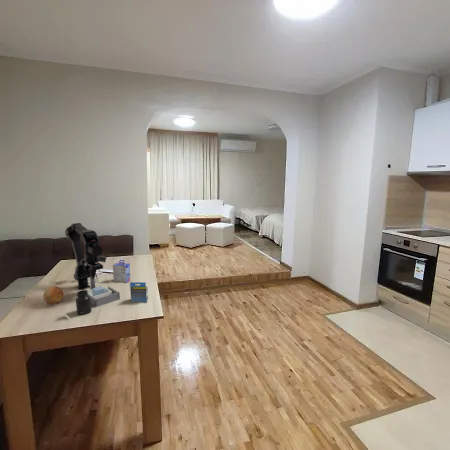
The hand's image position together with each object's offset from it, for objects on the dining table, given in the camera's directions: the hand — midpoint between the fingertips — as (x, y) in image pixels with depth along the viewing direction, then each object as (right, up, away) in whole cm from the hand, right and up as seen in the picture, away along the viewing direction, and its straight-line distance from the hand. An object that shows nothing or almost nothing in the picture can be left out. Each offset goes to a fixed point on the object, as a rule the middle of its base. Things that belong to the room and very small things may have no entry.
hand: (92, 277), depth 166 cm
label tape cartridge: (+30, -12, -7) cm, 33 cm away
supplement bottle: (+6, -15, -21) cm, 26 cm away
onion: (-16, -13, -10) cm, 23 cm away
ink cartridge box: (+9, -7, +23) cm, 26 cm away
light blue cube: (+5, -10, -3) cm, 12 cm away
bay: (+9, -12, -6) cm, 16 cm away
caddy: (+4, -11, -2) cm, 12 cm away
